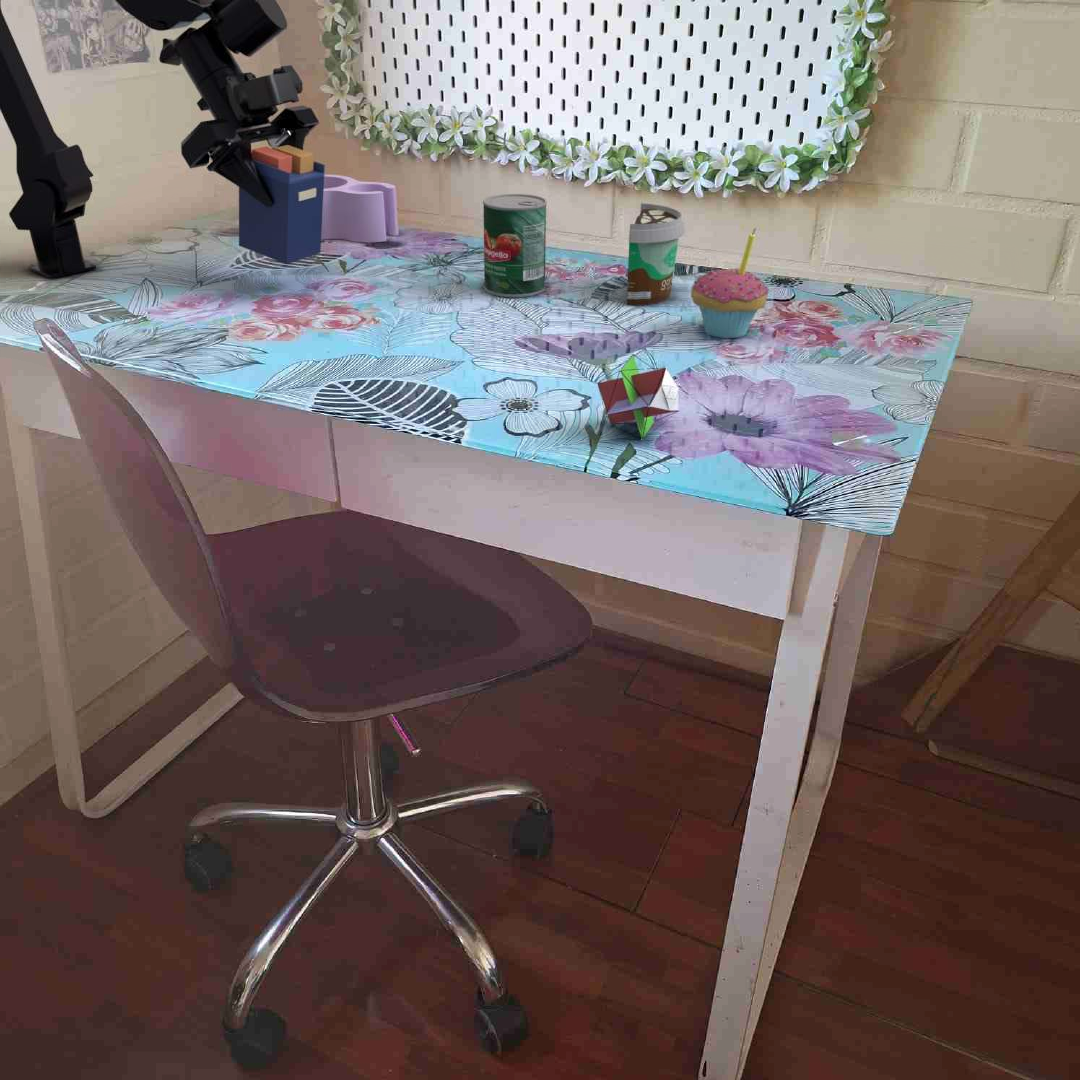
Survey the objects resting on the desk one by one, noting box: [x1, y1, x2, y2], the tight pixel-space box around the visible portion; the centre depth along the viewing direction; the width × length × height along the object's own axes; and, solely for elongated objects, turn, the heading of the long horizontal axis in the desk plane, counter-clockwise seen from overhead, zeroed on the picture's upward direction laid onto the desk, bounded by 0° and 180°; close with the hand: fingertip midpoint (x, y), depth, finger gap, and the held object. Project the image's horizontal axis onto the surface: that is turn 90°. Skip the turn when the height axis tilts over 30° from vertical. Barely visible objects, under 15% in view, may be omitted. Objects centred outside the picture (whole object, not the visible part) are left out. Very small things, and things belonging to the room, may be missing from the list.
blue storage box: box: [238, 147, 326, 265], centre depth 121 cm, size 8×7×11 cm
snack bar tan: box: [274, 145, 315, 174], centre depth 119 cm, size 4×2×2 cm, turn 63°
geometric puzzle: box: [596, 353, 680, 441], centre depth 89 cm, size 7×7×8 cm
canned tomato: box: [482, 193, 548, 298], centre depth 124 cm, size 8×8×11 cm
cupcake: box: [690, 227, 770, 339], centre depth 111 cm, size 9×8×12 cm
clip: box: [321, 173, 399, 243], centre depth 150 cm, size 20×12×7 cm, turn 69°
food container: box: [625, 202, 686, 306], centre depth 123 cm, size 12×6×10 cm, turn 168°
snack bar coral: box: [251, 146, 292, 173], centre depth 117 cm, size 4×2×2 cm, turn 63°
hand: (290, 200), depth 120 cm, fingers closed on blue storage box, 6 cm apart
